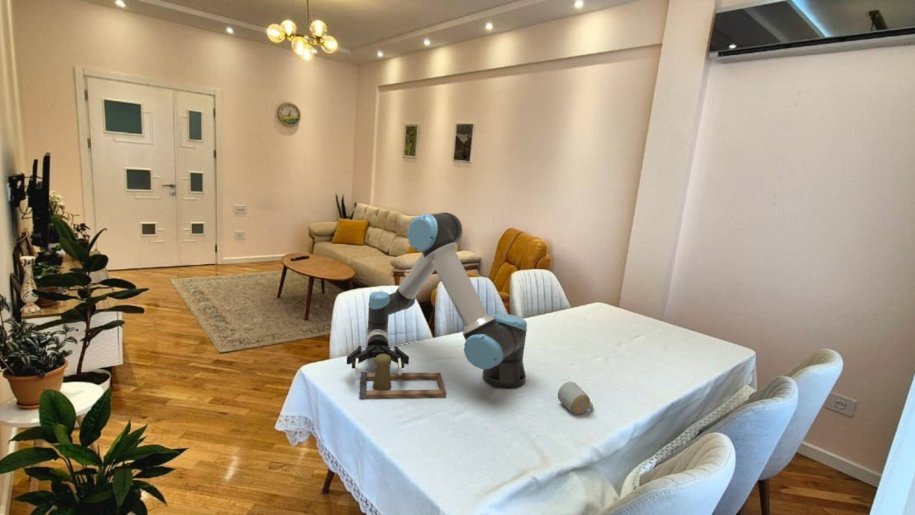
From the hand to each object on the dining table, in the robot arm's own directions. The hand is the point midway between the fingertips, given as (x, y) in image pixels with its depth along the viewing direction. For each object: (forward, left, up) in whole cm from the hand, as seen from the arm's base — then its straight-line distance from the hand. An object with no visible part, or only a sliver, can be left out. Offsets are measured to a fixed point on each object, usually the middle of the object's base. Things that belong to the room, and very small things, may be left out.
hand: (378, 371), depth 142 cm
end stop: (+5, -3, -7) cm, 9 cm away
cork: (-1, -3, -7) cm, 8 cm away
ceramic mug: (-62, +11, -8) cm, 64 cm away
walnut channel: (-9, -3, -7) cm, 12 cm away
